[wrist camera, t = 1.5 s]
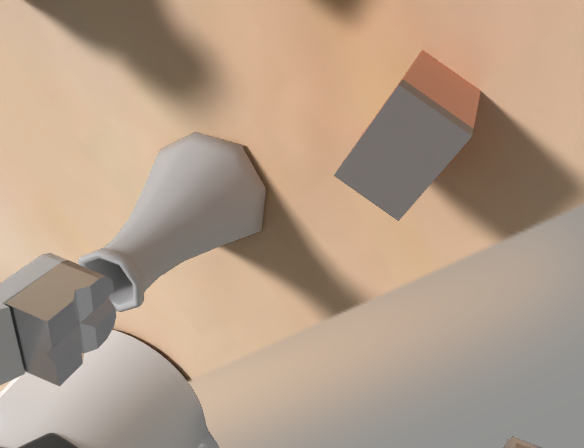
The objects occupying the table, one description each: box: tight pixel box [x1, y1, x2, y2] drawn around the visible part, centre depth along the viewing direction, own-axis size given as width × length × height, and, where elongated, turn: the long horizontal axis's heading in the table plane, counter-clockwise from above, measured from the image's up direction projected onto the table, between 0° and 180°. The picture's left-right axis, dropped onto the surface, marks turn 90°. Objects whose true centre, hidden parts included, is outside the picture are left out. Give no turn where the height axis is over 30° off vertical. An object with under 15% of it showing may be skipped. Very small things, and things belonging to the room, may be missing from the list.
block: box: [334, 50, 481, 221], centre depth 22 cm, size 4×3×6 cm
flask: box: [78, 132, 266, 312], centre depth 27 cm, size 7×7×10 cm
